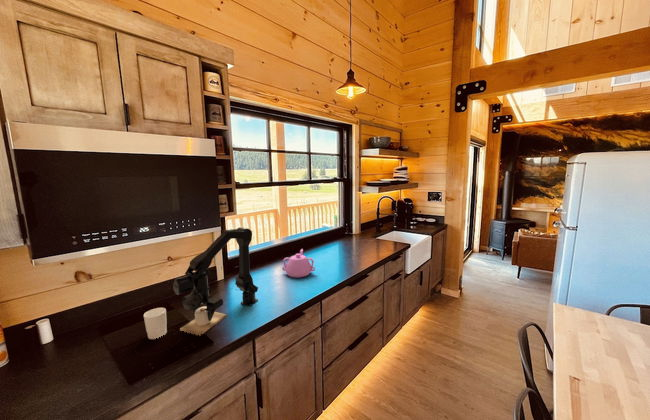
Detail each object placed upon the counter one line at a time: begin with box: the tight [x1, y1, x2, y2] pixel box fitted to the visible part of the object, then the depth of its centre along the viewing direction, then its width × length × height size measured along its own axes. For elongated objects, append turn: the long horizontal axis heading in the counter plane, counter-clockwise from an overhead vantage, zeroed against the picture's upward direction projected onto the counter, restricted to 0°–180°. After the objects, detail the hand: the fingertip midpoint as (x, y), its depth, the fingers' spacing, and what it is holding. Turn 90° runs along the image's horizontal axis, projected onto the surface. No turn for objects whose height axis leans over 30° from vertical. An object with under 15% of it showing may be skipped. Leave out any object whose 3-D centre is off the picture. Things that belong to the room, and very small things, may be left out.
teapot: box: [281, 248, 316, 278], centre depth 176 cm, size 22×22×14 cm
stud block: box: [179, 311, 227, 337], centre depth 119 cm, size 16×11×5 cm
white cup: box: [143, 307, 168, 340], centre depth 111 cm, size 8×8×10 cm
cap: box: [194, 306, 212, 326], centre depth 119 cm, size 7×7×6 cm
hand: (203, 319), depth 119 cm, fingers closed on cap, 7 cm apart
